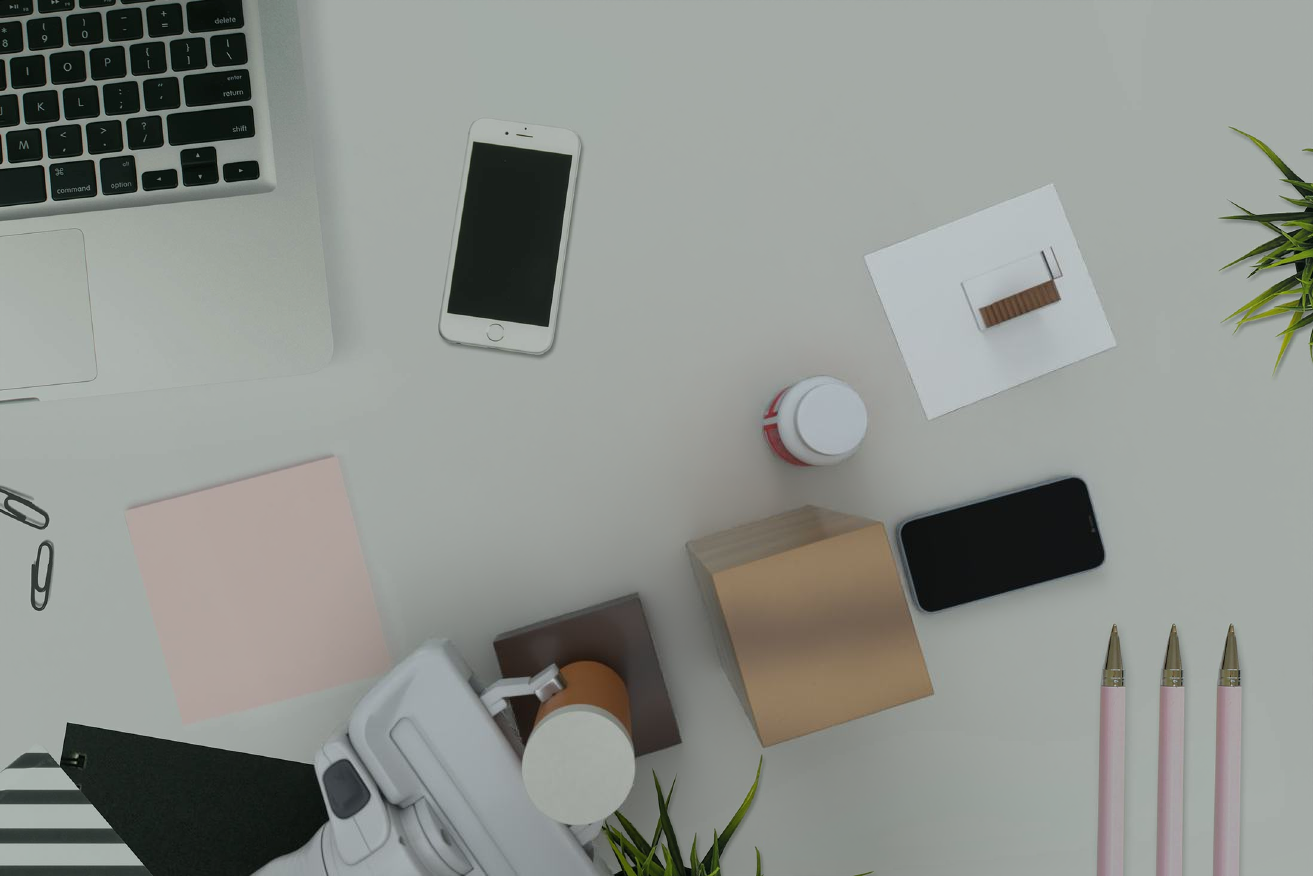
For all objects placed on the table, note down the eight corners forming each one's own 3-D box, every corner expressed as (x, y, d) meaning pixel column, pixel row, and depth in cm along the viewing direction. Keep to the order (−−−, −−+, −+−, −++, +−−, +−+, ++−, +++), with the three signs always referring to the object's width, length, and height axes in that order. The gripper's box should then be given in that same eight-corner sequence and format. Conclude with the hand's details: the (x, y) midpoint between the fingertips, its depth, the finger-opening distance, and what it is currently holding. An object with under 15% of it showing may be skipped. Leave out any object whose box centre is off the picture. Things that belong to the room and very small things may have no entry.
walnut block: (679, 731, 72) (682, 743, 69) (539, 775, 72) (535, 789, 69) (637, 591, 73) (638, 597, 70) (497, 634, 72) (492, 642, 69)
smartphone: (895, 522, 73) (1084, 471, 73) (891, 521, 73) (1078, 471, 74) (920, 617, 72) (1109, 566, 73) (917, 615, 73) (1103, 564, 74)
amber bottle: (641, 734, 66) (649, 806, 53) (555, 761, 66) (539, 840, 52) (616, 648, 66) (617, 697, 53) (529, 674, 66) (507, 730, 52)
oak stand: (848, 630, 73) (935, 694, 53) (723, 669, 73) (763, 748, 53) (810, 504, 73) (883, 521, 53) (685, 542, 73) (710, 574, 53)
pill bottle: (836, 469, 73) (875, 471, 62) (757, 462, 73) (781, 462, 62) (843, 389, 74) (883, 376, 62) (764, 381, 73) (790, 367, 62)
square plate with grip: (1052, 182, 75) (1087, 160, 69) (1117, 345, 74) (1157, 336, 69) (863, 256, 74) (883, 239, 68) (928, 420, 74) (953, 417, 68)
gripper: (497, 1022, 56) (693, 882, 56) (297, 733, 56) (495, 596, 56) (509, 965, 62) (685, 840, 63) (329, 705, 62) (507, 582, 63)
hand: (594, 722), depth 60 cm, fingers closed on amber bottle, 6 cm apart
